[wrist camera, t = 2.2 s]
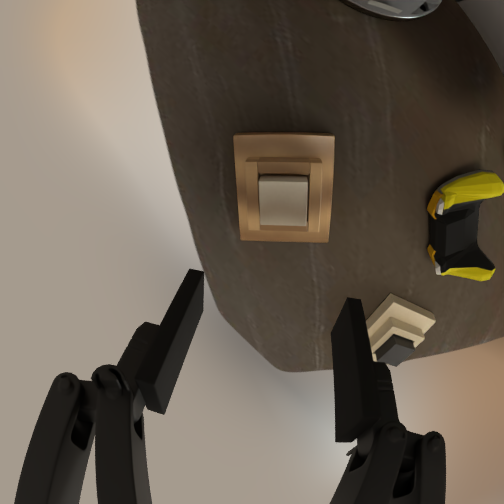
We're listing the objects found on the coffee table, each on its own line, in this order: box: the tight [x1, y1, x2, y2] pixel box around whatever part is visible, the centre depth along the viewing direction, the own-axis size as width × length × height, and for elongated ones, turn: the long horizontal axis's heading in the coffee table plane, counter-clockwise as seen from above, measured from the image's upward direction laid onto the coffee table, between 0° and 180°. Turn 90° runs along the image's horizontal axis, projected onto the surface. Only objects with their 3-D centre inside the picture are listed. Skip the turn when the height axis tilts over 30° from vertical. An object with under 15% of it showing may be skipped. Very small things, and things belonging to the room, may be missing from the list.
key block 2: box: [366, 293, 436, 365], centre depth 38 cm, size 12×10×4 cm
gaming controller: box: [427, 169, 504, 281], centre depth 26 cm, size 15×6×10 cm
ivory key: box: [259, 175, 308, 226], centre depth 26 cm, size 4×4×2 cm
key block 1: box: [233, 132, 335, 243], centre depth 28 cm, size 12×10×4 cm
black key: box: [375, 334, 415, 366], centre depth 35 cm, size 4×4×2 cm
